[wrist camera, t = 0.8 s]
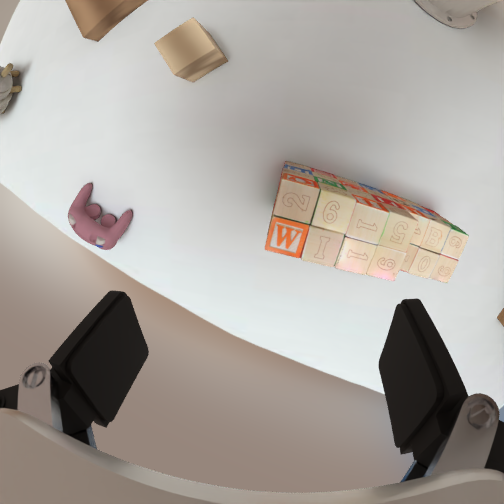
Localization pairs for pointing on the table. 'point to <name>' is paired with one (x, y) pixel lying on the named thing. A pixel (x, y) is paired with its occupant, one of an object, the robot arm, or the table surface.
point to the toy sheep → (7, 86)
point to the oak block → (190, 51)
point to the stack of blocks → (359, 228)
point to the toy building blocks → (501, 317)
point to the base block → (100, 15)
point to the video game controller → (90, 229)
